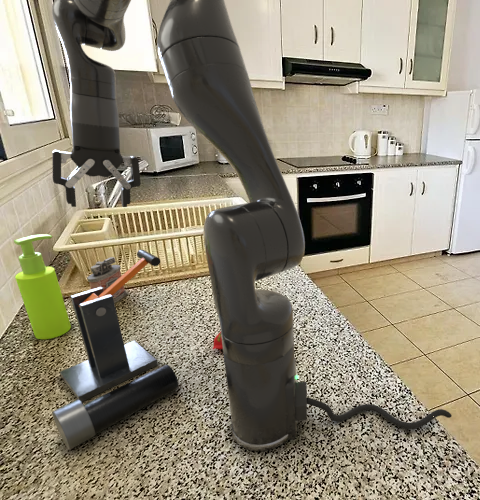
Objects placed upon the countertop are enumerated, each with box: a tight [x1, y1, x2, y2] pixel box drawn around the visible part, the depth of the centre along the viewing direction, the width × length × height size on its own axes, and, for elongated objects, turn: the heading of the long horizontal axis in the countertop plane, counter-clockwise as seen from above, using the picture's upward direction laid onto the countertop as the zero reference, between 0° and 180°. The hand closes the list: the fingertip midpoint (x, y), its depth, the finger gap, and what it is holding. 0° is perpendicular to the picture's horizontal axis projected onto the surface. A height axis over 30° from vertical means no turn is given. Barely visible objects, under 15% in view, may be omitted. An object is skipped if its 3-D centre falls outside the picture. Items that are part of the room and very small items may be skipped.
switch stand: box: [59, 287, 158, 403], centre depth 62 cm, size 12×9×15 cm
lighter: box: [86, 256, 127, 304], centre depth 86 cm, size 8×3×10 cm, turn 168°
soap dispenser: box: [13, 233, 72, 340], centre depth 73 cm, size 6×7×20 cm
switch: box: [79, 249, 161, 307], centre depth 63 cm, size 13×6×2 cm
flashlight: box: [51, 363, 179, 451], centre depth 55 cm, size 15×6×6 cm, turn 141°
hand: (100, 206), depth 75 cm, fingers open, 8 cm apart
